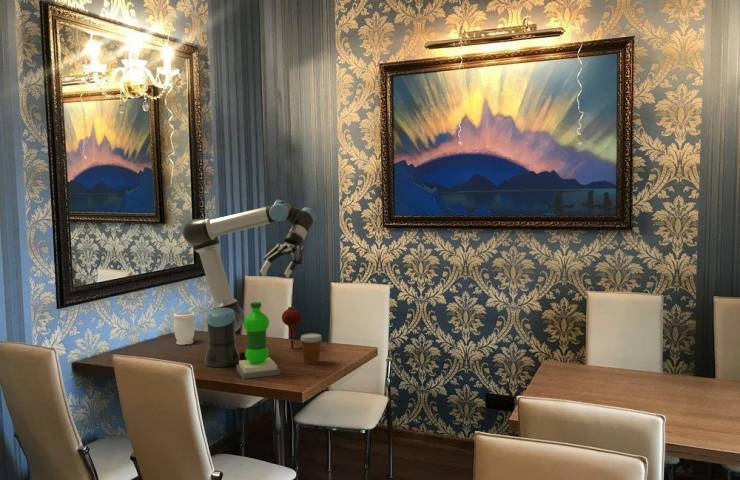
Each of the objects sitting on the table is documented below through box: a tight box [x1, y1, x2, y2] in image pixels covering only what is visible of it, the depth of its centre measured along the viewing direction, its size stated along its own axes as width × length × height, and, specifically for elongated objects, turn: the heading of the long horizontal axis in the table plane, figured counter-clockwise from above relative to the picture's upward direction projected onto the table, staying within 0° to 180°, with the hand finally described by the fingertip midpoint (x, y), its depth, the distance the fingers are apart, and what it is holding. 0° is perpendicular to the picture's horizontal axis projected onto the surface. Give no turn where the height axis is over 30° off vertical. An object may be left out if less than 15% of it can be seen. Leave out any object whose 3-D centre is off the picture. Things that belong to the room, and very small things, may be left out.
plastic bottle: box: [242, 301, 270, 364], centre depth 261 cm, size 10×10×25 cm
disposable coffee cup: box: [299, 333, 323, 365], centre depth 275 cm, size 10×10×12 cm
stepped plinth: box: [235, 356, 281, 380], centre depth 262 cm, size 15×15×4 cm
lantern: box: [281, 295, 302, 350], centre depth 300 cm, size 10×10×30 cm
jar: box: [172, 311, 196, 346], centre depth 314 cm, size 11×10×15 cm
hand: (273, 274), depth 268 cm, fingers open, 13 cm apart
